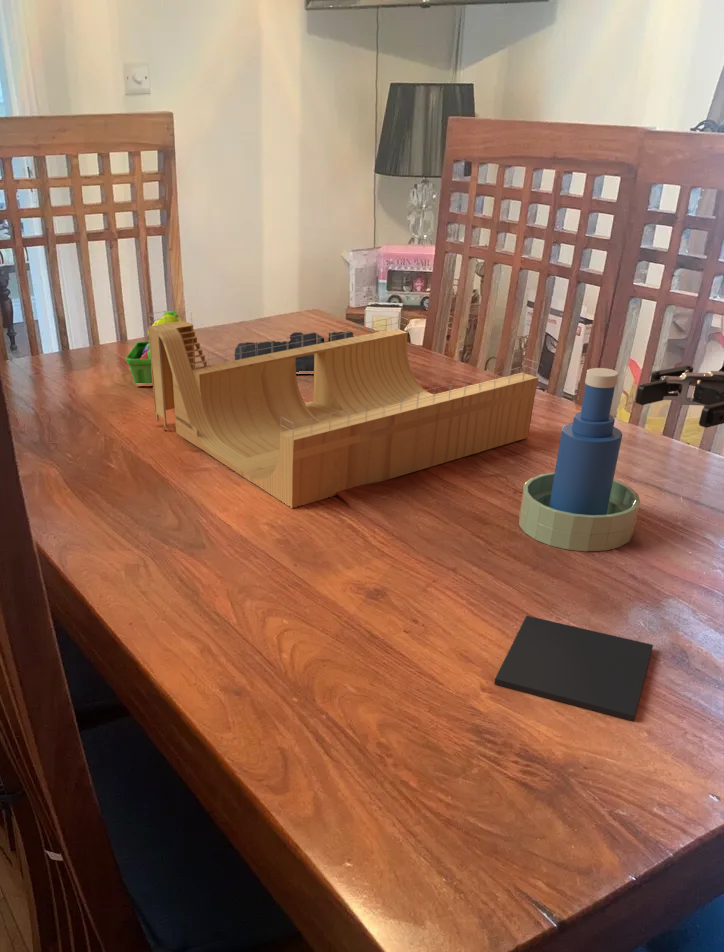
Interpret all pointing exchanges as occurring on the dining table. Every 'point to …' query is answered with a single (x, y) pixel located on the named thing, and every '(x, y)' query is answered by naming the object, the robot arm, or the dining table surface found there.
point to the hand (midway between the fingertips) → (669, 406)
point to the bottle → (588, 450)
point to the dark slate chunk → (288, 347)
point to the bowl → (577, 518)
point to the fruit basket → (146, 353)
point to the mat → (576, 667)
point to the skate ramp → (329, 412)
